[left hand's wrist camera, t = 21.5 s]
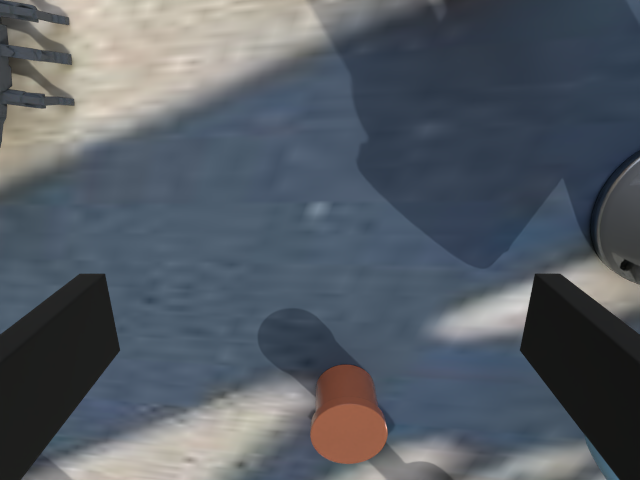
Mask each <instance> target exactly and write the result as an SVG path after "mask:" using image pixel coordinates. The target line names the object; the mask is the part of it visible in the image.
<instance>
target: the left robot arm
mask: <svg viewBox="0 0 640 480" xmlns="http://www.w3.org/2000/svg"><path fill="white" fill-rule="evenodd" d="M591 237H592V242H593V246H594V248H595V251H596V253H597V254H598V256H599V258H600V259H601V260H602V262H603V263H604V264H605V265H606V266H607V267H608V268H610V269H611V270H612V271H614V272H615V273H617V274H619V275H620V276H622V277H623V278H625V279H627V280H629V281H632V282H634V283H637V284H640V150H639V151H638V152H636V153H635V154H633V155H632V156H631V157H629V158H628V159H627V160H626V161H625V162H623V163H622V164H621V165H620V166H619V167H618V168H617V169H616V170H615V172H614V173H613V174H612V175H611V176H610V178H609V179H608V180H607V182H606V183H605V185H604V186H603V188H602V190H601V192H600V194H599V196H598V198H597V200H596V203H595V206H594V209H593V213H592V218H591ZM119 351H120V348H119V342H118V337H117V332H116V327H115V322H114V317H113V312H112V307H111V302H110V297H109V292H108V287H107V282H106V277H105V274H79V275H78V276H76V277H75V278H74V279H72V280H71V281H70V282H68V283H67V284H66V285H65V286H63V287H62V288H61V289H59V290H58V291H57V292H55V293H54V294H53V295H51V296H50V297H49V298H48V299H46V300H45V301H44V302H42V303H41V304H40V305H38V306H37V307H36V308H34V309H33V310H32V311H31V312H29V313H28V314H27V315H25V316H24V317H23V318H21V319H20V320H19V321H18V322H16V323H15V324H14V325H12V326H11V327H10V328H8V329H7V330H6V331H4V332H3V333H2V334H1V335H0V480H21V479H22V477H23V476H24V475H25V473H26V472H27V471H28V470H29V468H30V467H31V466H32V464H33V463H34V462H35V460H36V459H37V458H38V456H39V455H40V454H41V453H42V451H43V450H44V449H45V447H46V446H47V445H48V443H49V442H50V441H51V440H52V438H53V437H54V436H55V434H56V433H57V432H58V430H59V429H60V428H61V427H62V425H63V424H64V423H65V421H66V420H67V419H68V417H69V416H70V415H71V414H72V412H73V411H74V410H75V408H76V407H77V406H78V404H79V403H80V402H81V401H82V399H83V398H84V397H85V395H86V394H87V393H88V391H89V390H90V389H91V387H92V386H93V385H94V384H95V382H96V381H97V380H98V378H99V377H100V376H101V374H102V373H103V372H104V371H105V369H106V368H107V367H108V365H109V364H110V363H111V361H112V360H113V359H114V358H115V356H116V355H117V354H118V352H119ZM520 351H521V352H522V354H523V355H524V356H525V358H526V359H527V360H528V361H529V363H530V364H531V365H532V367H533V368H534V369H535V371H536V372H537V373H538V374H539V376H540V377H541V378H542V380H543V381H544V382H545V384H546V385H547V386H548V387H549V389H550V390H551V391H552V393H553V394H554V395H555V397H556V398H557V399H558V401H559V402H560V403H561V404H562V406H563V407H564V408H565V410H566V411H567V412H568V414H569V415H570V416H571V417H572V419H573V420H574V421H575V423H576V424H577V425H578V427H579V428H580V429H581V430H582V432H583V433H584V435H585V440H586V443H587V446H588V448H589V450H590V452H591V455H592V456H593V458H594V460H595V462H596V464H597V465H598V467H599V469H600V470H601V472H602V473H603V475H604V476H605V478H606V479H607V480H640V335H639V334H638V333H637V332H636V331H634V330H633V329H632V328H630V327H629V326H628V325H626V324H625V323H624V322H622V321H621V320H620V319H619V318H617V317H616V316H615V315H613V314H612V313H611V312H609V311H608V310H607V309H606V308H604V307H603V306H602V305H600V304H599V303H598V302H596V301H595V300H594V299H592V298H591V297H590V296H589V295H587V294H586V293H585V292H583V291H582V290H581V289H579V288H578V287H577V286H575V285H574V284H573V283H572V282H570V281H569V280H568V279H566V278H565V277H564V276H562V275H561V274H535V277H534V282H533V287H532V292H531V297H530V302H529V307H528V312H527V317H526V322H525V327H524V332H523V337H522V342H521V348H520Z"/></svg>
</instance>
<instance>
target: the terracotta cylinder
mask: <svg viewBox="0 0 640 480" xmlns="http://www.w3.org/2000/svg"><path fill="white" fill-rule="evenodd" d="M387 435H388V430H387V425H386V420H385V417H384V414H383V413H382V411H381V410H380V409H379V408H378V403H377V397H376V392H375V386H374V382H373V379H372V378H371V376H370V375H369V374H368V373H367V372H366V371H365V370H363V369H362V368H360V367H357V366H354V365H338V366H334V367H332V368H330V369H328V370H326V371H325V372H324V373H323V374H322V375H321V376H320V378H319V379H318V381H317V384H316V411H315V414H314V415H313V417H312V420H311V429H310V436H311V441H312V444H313V446H314V448H315V449H316V450H317V451H318V453H319V454H321V455H322V456H323V457H325V458H327V459H329V460H331V461H333V462H337V463H343V464H353V463H359V462H363V461H366V460H368V459H370V458H372V457H373V456H375V455H376V454H377V453H379V451H380V450H381V449H382V448H383V446H384V445H385V443H386V440H387Z"/></svg>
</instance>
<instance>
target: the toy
mask: <svg viewBox="0 0 640 480" xmlns="http://www.w3.org/2000/svg"><path fill="white" fill-rule="evenodd" d="M1 17H9V18H15V19H21V20H27V21H32V22H38V19H39V20H44V21H48V22H52V23H59V24H65V25H69V18H68V17H65V16H59V15H53V14H49V13H46V12H42V11H39V10H37V8H36V7H35V6H33V5H29V4H23V3H17V2H11V1H4V0H0V147H1V142H2V131H3V124H4V121H5V120H6V114H7V104H11V105H19V106H26V107H34V108H46V105H72V106H74V99H70V98H63V97H45V94H38V93H27V92H25V91H18V90H11V89H9V88H10V87H11V86H12V76H11V67H10V66H9V57H15V58H21V59H28V60H35V61H45V62H53V63H61V64H68V65H72V60H71V54H66V53H59V52H52V51H44V50H37V49H32V48H25V47H18V46H11V45H8V36H7V27H6V25H1ZM38 23H39V22H38Z"/></svg>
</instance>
